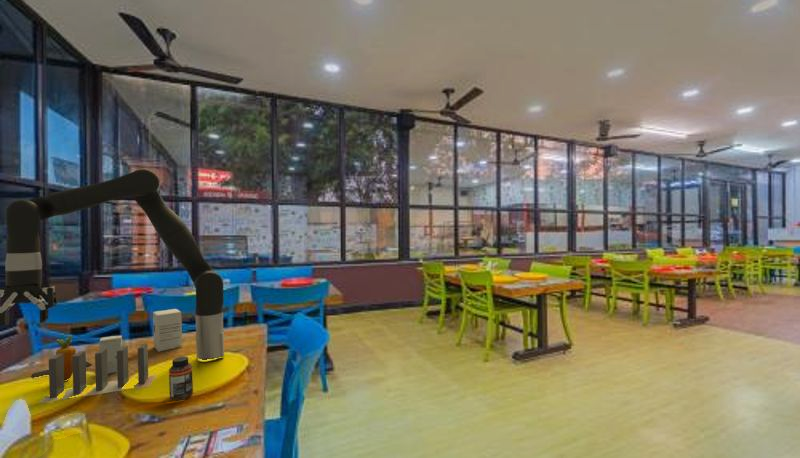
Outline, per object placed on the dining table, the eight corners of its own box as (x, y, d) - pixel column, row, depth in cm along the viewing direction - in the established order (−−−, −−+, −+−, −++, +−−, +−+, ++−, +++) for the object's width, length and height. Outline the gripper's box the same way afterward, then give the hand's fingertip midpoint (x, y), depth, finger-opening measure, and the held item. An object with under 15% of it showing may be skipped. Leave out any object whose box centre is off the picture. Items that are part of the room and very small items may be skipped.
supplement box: (153, 347, 158) (152, 311, 158) (177, 342, 164) (176, 308, 164) (157, 352, 151) (156, 315, 151) (182, 346, 157) (181, 311, 157)
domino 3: (128, 381, 121) (127, 345, 121) (123, 387, 117) (123, 350, 117) (122, 382, 121) (121, 346, 121) (117, 388, 116) (116, 351, 116)
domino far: (64, 390, 115) (63, 353, 115) (56, 397, 110) (55, 358, 110) (57, 391, 114) (56, 354, 114) (49, 398, 110) (48, 359, 110)
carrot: (53, 386, 119) (52, 339, 119) (59, 380, 124) (58, 335, 124) (73, 383, 122) (72, 337, 122) (78, 377, 126) (77, 333, 126)
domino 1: (86, 387, 117) (85, 350, 117) (79, 393, 112) (78, 355, 112) (80, 388, 116) (79, 351, 116) (73, 394, 112) (72, 356, 112)
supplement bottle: (176, 392, 113) (175, 355, 113) (196, 391, 113) (195, 354, 113) (165, 402, 107) (164, 362, 107) (187, 400, 107) (186, 361, 107)
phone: (92, 364, 137) (36, 378, 125) (92, 366, 137) (36, 380, 125) (85, 360, 142) (31, 373, 129) (85, 363, 142) (31, 376, 129)
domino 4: (148, 378, 123) (147, 343, 123) (144, 383, 119) (143, 347, 119) (142, 378, 123) (141, 344, 123) (138, 384, 118) (137, 348, 118)
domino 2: (107, 384, 119) (107, 348, 119) (102, 390, 115) (101, 353, 114) (101, 385, 119) (100, 348, 118) (95, 391, 114) (94, 353, 114)
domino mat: (156, 375, 126) (156, 374, 126) (149, 387, 117) (149, 385, 117) (54, 390, 116) (54, 389, 116) (37, 404, 107) (37, 403, 107)
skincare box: (99, 376, 127) (98, 340, 127) (100, 372, 131) (99, 337, 131) (121, 372, 130) (120, 337, 130) (122, 368, 134) (121, 334, 134)
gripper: (-18, 270, 103) (-17, 329, 103) (48, 268, 109) (49, 324, 109) (-1, 268, 110) (0, 323, 110) (60, 266, 116) (61, 318, 116)
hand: (24, 323), depth 110 cm, fingers open, 8 cm apart
